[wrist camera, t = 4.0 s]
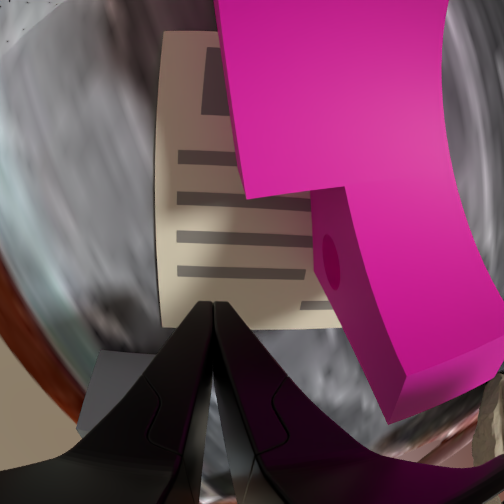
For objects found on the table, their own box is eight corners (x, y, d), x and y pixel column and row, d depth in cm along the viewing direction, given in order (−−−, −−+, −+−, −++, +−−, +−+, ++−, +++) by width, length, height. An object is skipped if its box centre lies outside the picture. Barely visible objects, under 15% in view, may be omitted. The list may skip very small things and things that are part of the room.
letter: (367, 324, 15) (368, 326, 15) (162, 325, 14) (162, 327, 14) (427, 77, 10) (429, 77, 9) (164, 31, 8) (163, 30, 8)
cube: (198, 410, 17) (199, 482, 13) (119, 404, 16) (106, 473, 12) (196, 355, 15) (194, 442, 10) (100, 348, 14) (75, 428, 10)
